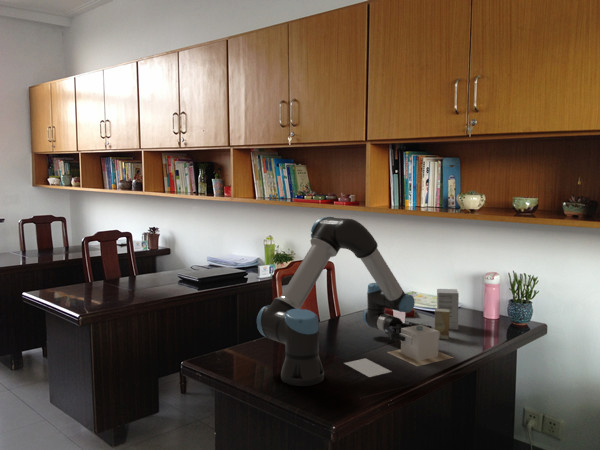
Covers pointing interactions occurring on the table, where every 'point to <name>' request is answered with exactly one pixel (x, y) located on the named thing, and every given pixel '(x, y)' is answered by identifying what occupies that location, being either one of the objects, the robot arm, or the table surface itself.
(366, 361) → the grey mat
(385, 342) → the table surface
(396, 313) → the beverage cup
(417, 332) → the dust cover
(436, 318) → the skincare box
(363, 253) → the robot arm
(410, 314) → the hardcover book
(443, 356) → the birch board
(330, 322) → the table surface
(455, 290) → the supplement box
